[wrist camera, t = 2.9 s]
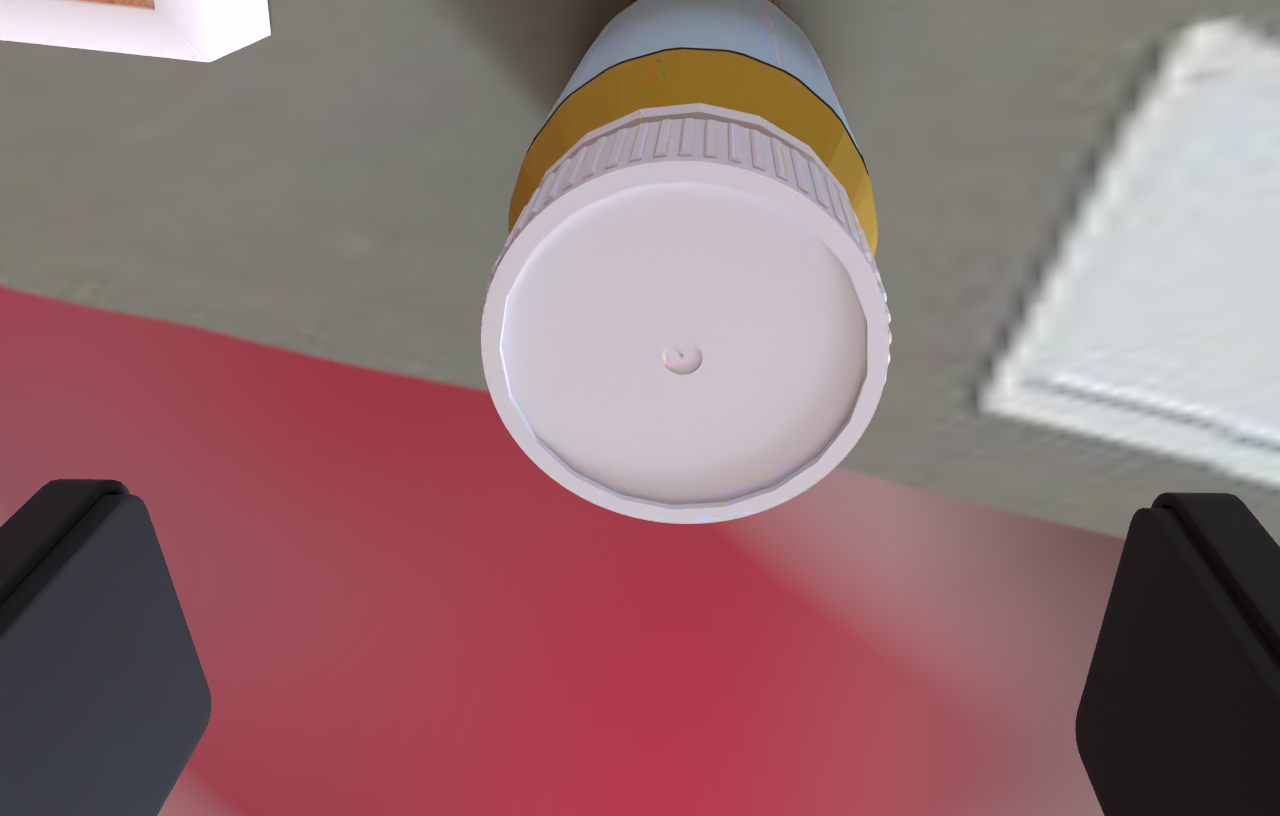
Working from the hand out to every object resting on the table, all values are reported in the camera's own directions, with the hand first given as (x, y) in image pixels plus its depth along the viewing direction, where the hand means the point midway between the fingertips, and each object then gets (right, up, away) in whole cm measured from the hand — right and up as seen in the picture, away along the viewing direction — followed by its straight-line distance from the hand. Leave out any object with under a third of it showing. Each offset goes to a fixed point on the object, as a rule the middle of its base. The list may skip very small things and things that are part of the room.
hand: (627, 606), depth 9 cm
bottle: (+2, +10, +18) cm, 21 cm away
